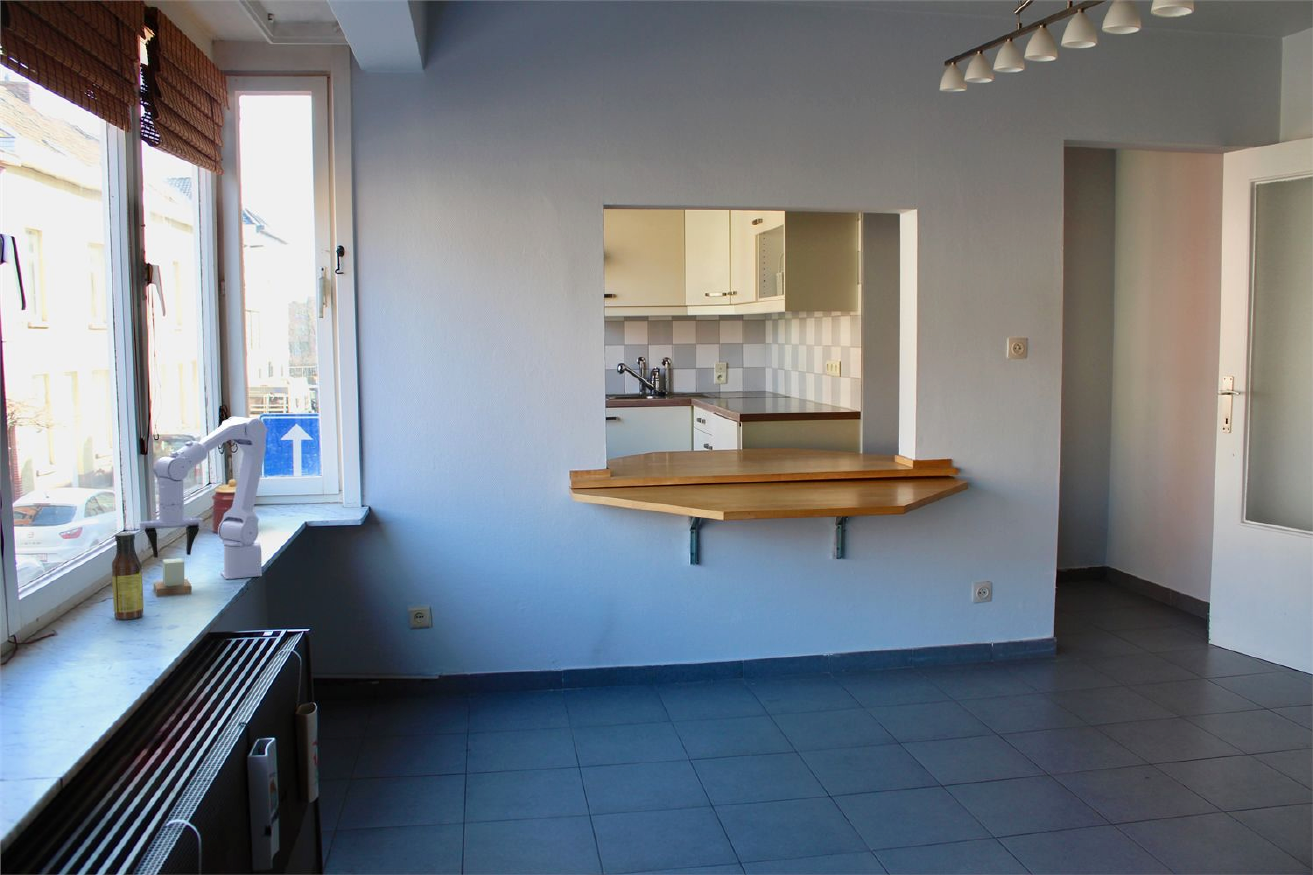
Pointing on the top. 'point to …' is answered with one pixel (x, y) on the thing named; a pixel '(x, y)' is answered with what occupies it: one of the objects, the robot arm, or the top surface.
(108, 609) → the top surface
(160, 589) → the walnut base block
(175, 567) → the sage block
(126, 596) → the sauce bottle
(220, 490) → the canister
